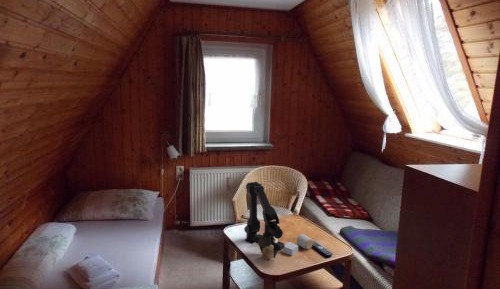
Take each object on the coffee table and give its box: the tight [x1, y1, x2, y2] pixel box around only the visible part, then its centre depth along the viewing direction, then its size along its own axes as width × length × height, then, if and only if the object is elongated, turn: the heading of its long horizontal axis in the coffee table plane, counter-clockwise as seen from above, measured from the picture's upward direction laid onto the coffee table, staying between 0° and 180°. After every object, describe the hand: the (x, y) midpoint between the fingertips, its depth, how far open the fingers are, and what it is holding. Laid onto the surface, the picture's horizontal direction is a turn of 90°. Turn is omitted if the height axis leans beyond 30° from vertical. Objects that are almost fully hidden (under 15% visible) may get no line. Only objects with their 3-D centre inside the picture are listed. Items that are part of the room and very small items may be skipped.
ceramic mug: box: [296, 233, 314, 250], centre depth 213 cm, size 11×8×8 cm
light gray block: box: [281, 241, 299, 256], centre depth 206 cm, size 7×7×4 cm
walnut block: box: [261, 246, 274, 261], centre depth 199 cm, size 5×5×6 cm
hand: (268, 255), depth 200 cm, fingers open, 8 cm apart
